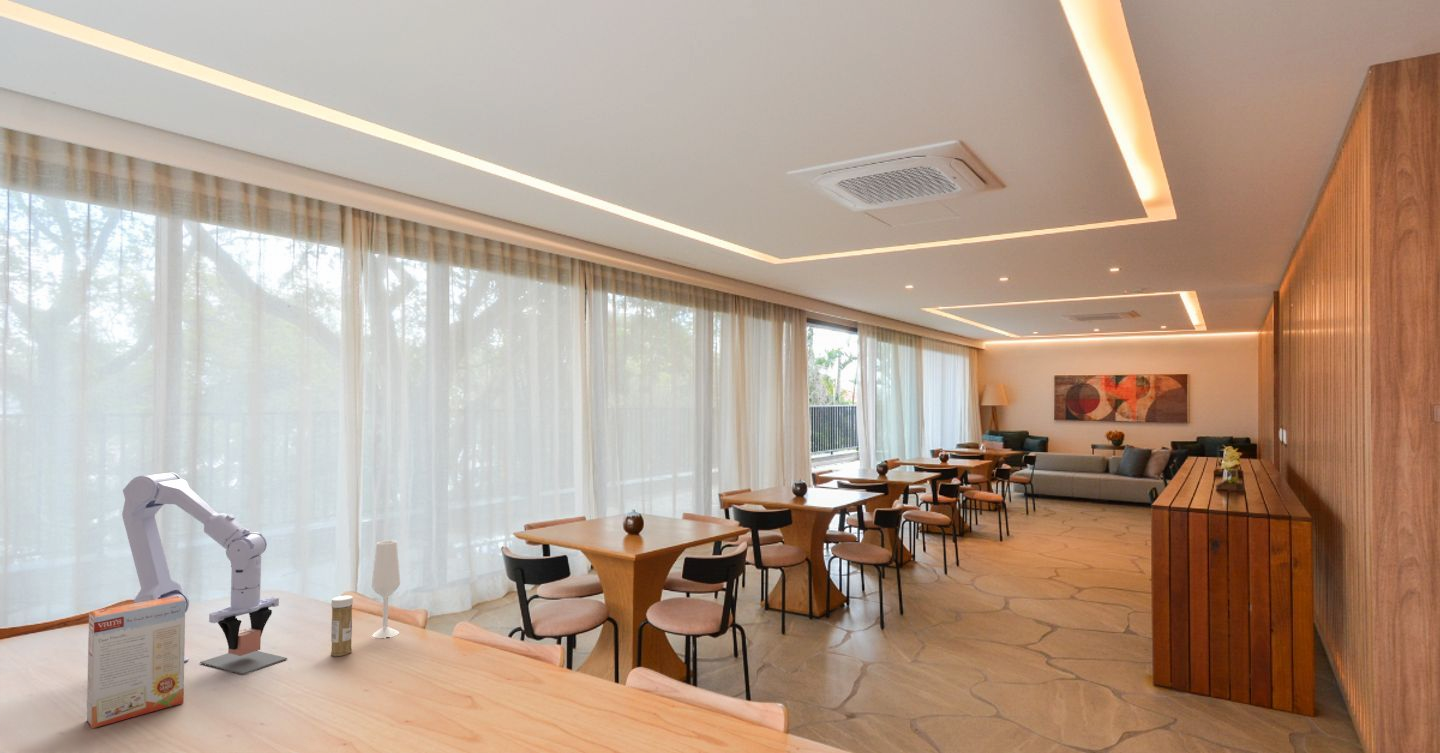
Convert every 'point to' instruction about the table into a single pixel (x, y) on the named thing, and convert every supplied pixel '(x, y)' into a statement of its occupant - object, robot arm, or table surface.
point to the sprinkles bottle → (341, 625)
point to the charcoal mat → (244, 661)
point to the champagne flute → (386, 580)
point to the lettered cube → (247, 642)
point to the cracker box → (135, 659)
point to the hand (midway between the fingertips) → (244, 645)
